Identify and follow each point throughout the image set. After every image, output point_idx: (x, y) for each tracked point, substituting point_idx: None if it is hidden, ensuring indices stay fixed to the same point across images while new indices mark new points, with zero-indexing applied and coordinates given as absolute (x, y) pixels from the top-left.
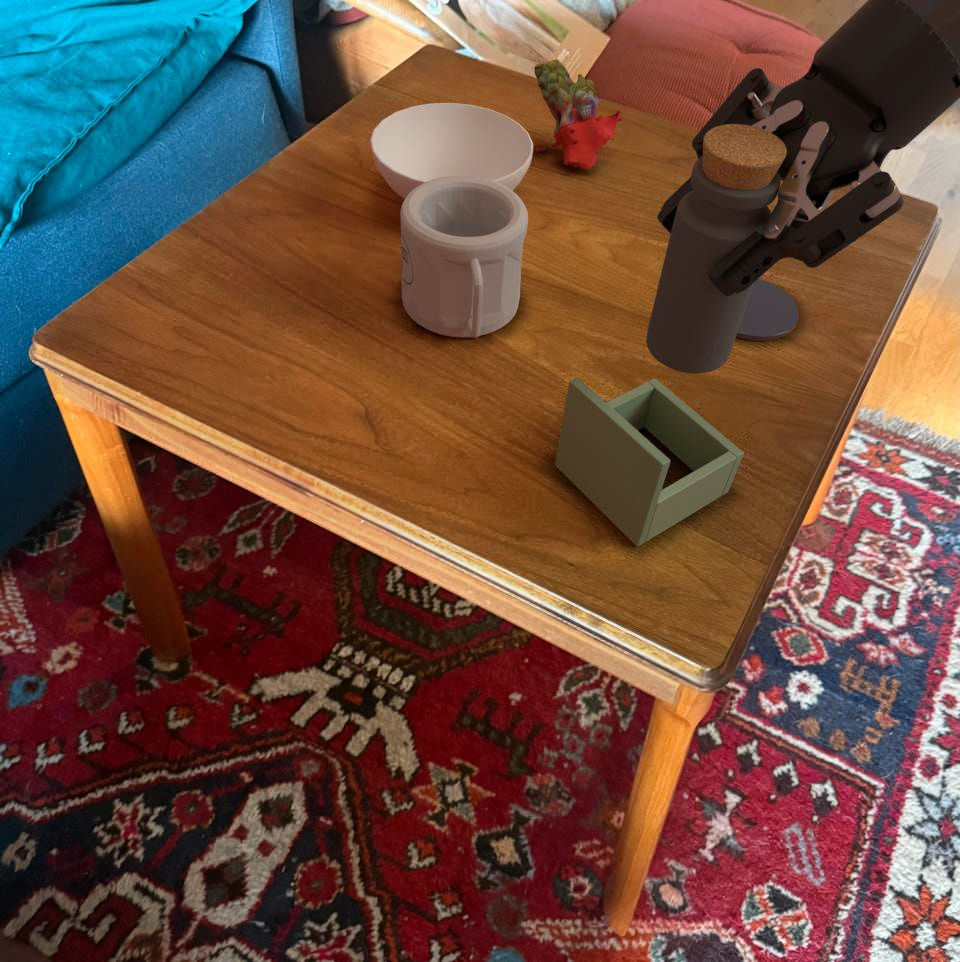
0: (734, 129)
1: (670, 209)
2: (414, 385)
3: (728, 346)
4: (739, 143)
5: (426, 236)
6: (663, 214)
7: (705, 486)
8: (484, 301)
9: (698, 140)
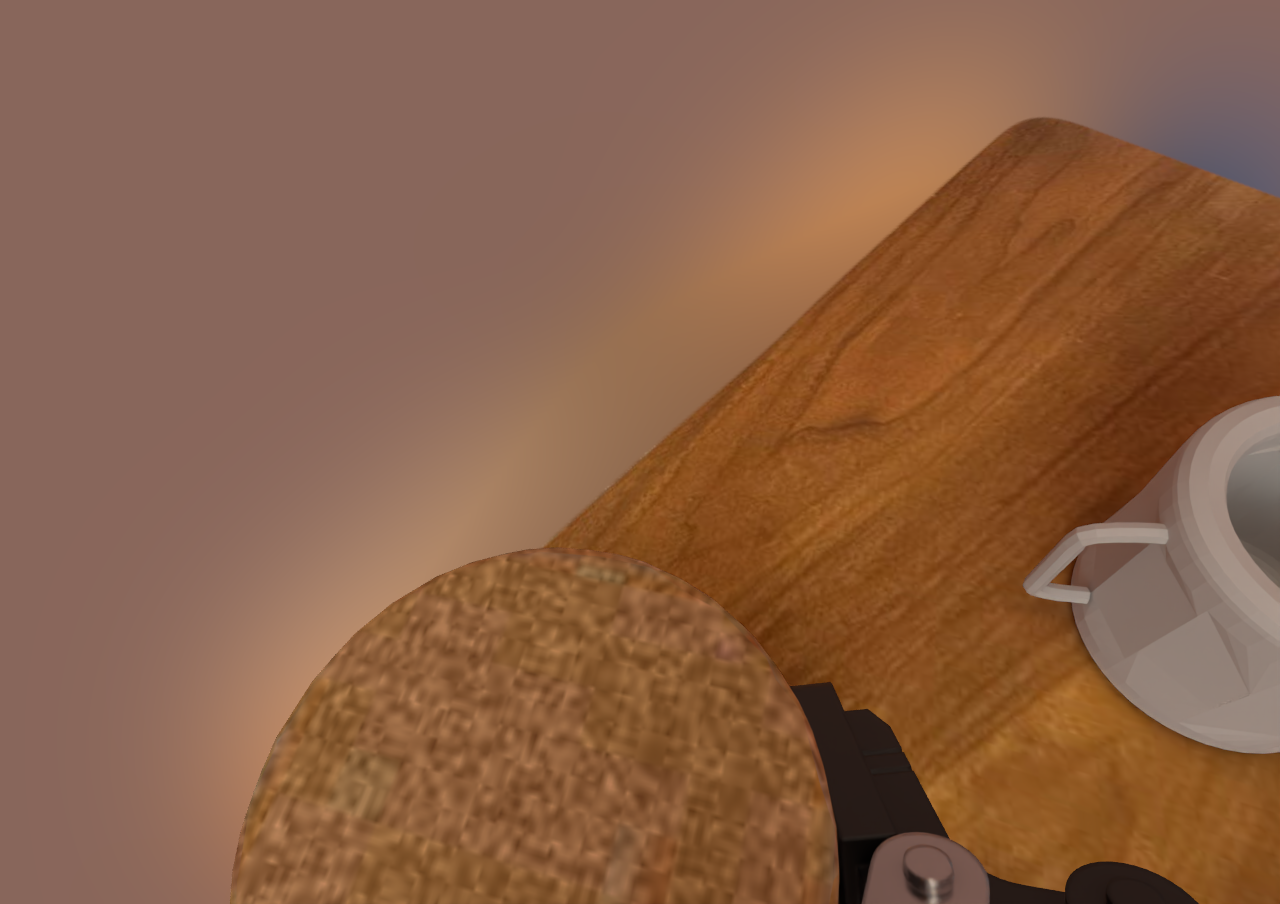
0: (738, 844)
1: (809, 709)
2: (935, 497)
3: None
4: (533, 773)
5: (1213, 424)
6: (808, 688)
7: None
8: (1121, 607)
9: (1126, 887)
